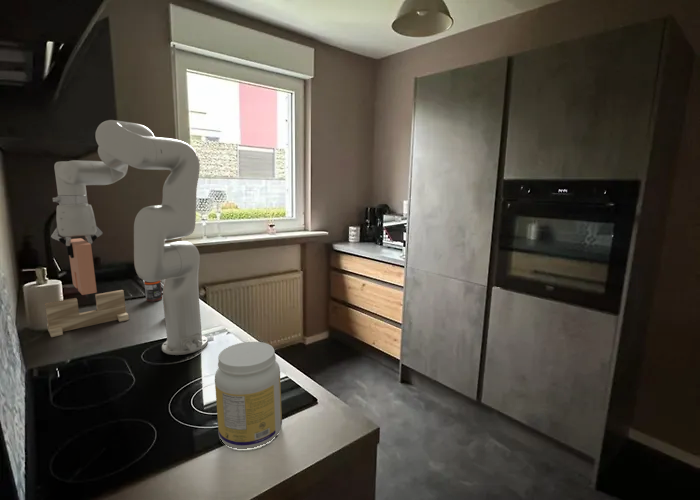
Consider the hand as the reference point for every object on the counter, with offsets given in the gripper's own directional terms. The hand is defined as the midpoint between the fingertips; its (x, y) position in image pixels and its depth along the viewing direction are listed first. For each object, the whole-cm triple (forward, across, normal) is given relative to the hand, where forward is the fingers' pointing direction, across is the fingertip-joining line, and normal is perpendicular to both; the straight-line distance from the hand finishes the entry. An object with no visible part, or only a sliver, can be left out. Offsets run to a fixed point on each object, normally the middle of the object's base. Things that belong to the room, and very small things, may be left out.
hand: (80, 255), depth 126 cm
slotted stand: (+24, 0, 0) cm, 24 cm away
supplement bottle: (+24, +25, +14) cm, 38 cm away
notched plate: (+11, 0, 0) cm, 11 cm away
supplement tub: (+24, +11, -89) cm, 93 cm away
